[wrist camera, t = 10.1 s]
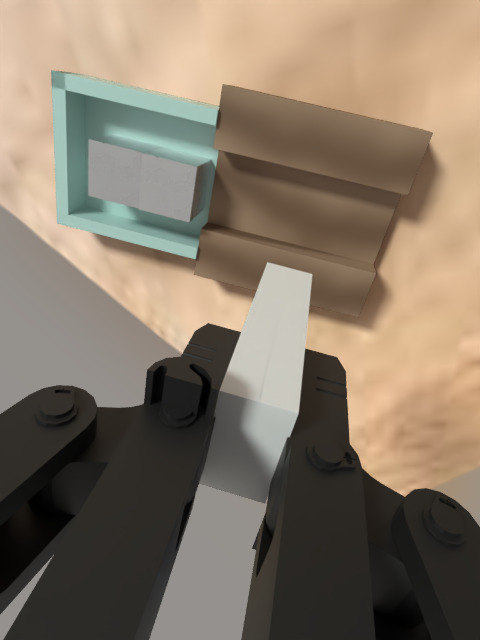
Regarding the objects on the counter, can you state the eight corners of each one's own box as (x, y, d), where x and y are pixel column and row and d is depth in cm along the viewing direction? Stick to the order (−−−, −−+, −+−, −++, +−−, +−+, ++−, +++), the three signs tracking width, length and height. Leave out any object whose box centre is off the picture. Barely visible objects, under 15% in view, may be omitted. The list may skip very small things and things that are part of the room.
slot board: (231, 85, 29) (222, 84, 27) (423, 129, 28) (433, 132, 26) (203, 262, 36) (194, 274, 34) (355, 301, 35) (358, 317, 33)
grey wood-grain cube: (162, 147, 32) (142, 153, 28) (211, 159, 31) (197, 166, 28) (157, 197, 34) (138, 209, 30) (203, 209, 33) (189, 222, 30)
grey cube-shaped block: (114, 134, 32) (88, 139, 28) (162, 146, 31) (142, 152, 28) (112, 185, 34) (88, 195, 30) (157, 197, 34) (138, 208, 30)
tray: (76, 73, 31) (51, 70, 28) (228, 108, 30) (217, 109, 27) (78, 213, 36) (57, 223, 33) (205, 246, 35) (195, 259, 33)
